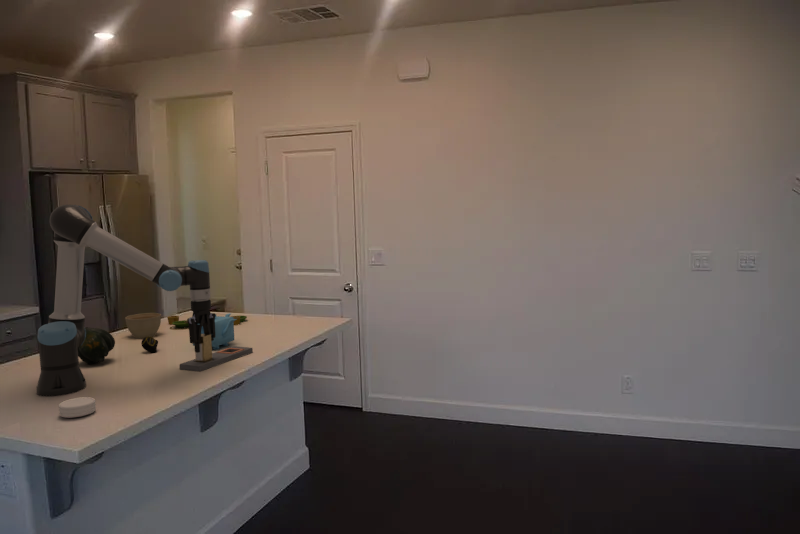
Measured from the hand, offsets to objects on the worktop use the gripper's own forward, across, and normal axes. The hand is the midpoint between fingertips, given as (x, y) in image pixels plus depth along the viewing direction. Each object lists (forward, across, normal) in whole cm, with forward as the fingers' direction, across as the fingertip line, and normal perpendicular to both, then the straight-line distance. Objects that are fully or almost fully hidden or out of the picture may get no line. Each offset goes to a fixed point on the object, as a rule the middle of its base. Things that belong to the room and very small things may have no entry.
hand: (204, 358), depth 239 cm
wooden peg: (+3, 0, 0) cm, 3 cm away
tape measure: (+3, +11, +39) cm, 41 cm away
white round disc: (+3, -58, -2) cm, 58 cm away
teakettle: (+3, +29, +19) cm, 35 cm away
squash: (+3, -11, +46) cm, 47 cm away
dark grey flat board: (+3, +8, 0) cm, 8 cm away
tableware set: (+3, +68, +60) cm, 91 cm away
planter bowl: (+3, +34, +67) cm, 75 cm away
